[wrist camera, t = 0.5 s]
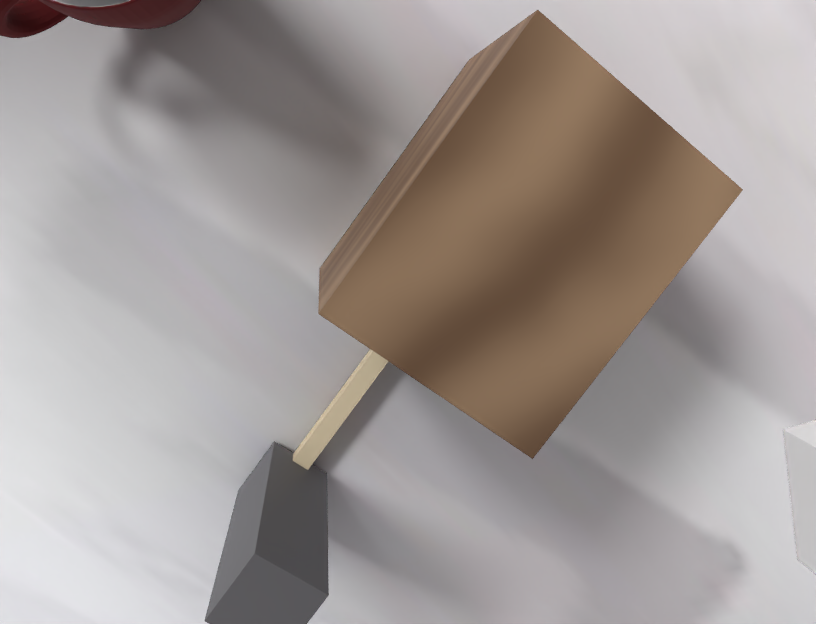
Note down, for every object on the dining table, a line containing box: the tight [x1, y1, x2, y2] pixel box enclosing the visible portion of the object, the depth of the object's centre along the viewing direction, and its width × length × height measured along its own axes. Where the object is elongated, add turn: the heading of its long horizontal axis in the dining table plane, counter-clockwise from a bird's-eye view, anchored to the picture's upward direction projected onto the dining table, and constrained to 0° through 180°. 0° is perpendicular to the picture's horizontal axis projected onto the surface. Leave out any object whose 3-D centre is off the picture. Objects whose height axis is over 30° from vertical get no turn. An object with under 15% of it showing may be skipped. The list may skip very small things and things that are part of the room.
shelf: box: [318, 10, 743, 459], centre depth 31 cm, size 10×13×11 cm
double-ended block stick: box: [205, 349, 388, 624], centre depth 31 cm, size 6×21×11 cm, turn 143°
